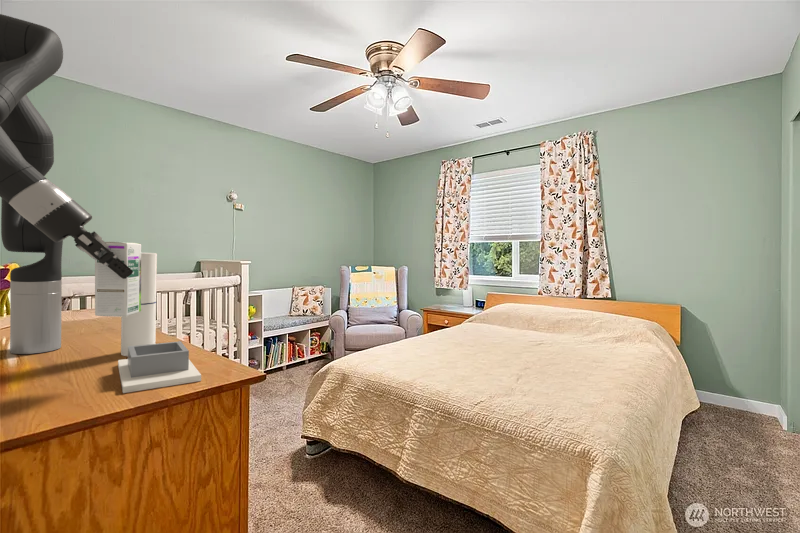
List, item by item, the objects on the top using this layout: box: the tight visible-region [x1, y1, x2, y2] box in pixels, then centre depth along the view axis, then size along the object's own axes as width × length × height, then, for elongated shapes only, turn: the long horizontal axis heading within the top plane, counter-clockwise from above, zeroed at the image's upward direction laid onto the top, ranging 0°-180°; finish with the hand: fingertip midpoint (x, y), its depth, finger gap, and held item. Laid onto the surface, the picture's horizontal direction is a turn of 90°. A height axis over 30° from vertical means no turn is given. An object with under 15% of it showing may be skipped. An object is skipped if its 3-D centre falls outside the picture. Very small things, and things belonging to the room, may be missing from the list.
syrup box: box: [94, 241, 142, 318], centre depth 77 cm, size 6×6×14 cm
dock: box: [117, 340, 202, 394], centre depth 83 cm, size 20×13×5 cm, turn 38°
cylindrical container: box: [120, 252, 158, 357], centre depth 97 cm, size 7×7×25 cm
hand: (128, 274), depth 78 cm, fingers closed on syrup box, 7 cm apart
